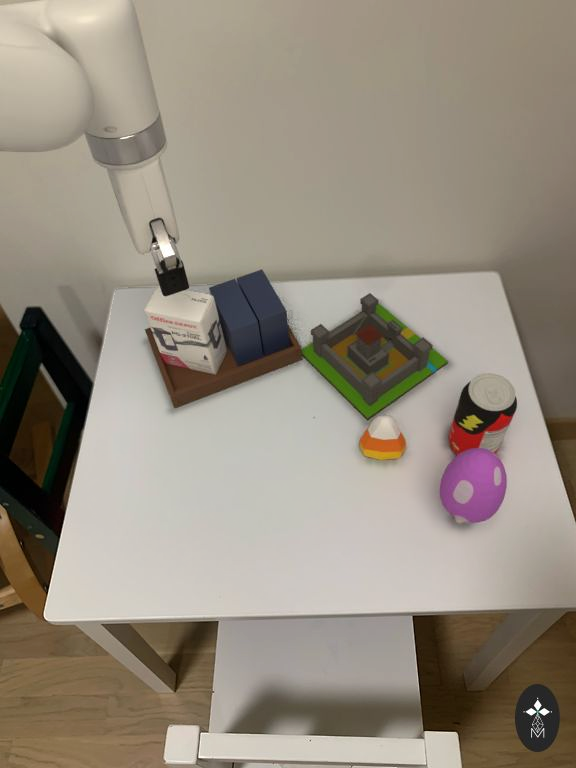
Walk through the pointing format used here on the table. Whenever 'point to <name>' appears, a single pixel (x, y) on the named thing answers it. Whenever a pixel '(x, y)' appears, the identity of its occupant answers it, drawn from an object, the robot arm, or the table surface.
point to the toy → (473, 485)
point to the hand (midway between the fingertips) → (164, 265)
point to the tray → (219, 372)
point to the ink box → (187, 329)
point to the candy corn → (383, 439)
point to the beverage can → (483, 413)
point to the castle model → (372, 358)
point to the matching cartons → (251, 317)
